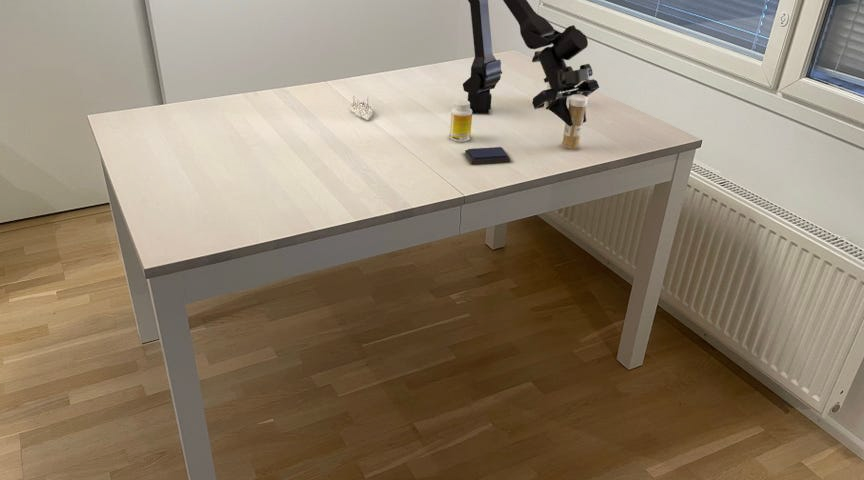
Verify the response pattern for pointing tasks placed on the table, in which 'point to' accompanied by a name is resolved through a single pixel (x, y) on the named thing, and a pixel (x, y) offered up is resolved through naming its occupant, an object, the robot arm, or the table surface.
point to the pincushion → (361, 109)
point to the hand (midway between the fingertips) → (577, 123)
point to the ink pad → (487, 155)
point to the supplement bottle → (461, 121)
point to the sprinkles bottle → (574, 121)
